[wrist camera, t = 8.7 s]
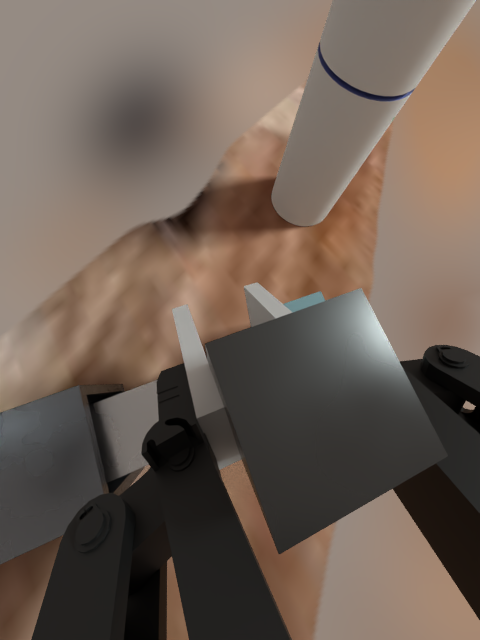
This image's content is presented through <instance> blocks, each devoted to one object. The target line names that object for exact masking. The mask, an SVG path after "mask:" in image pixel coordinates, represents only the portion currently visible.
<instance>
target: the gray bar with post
mask: <svg viewBox="0 0 480 640" xmlns="http://www.w3.org/2000/svg"><path fill="white" fill-rule="evenodd" d="M205 347H206V353H207V359H208V364H209V367H210V370H211V372H212V375H213V378H214V381H215V383H216V386H217V389H218V392H219V394H220V397H221V400H222V403H223V405H224V408H225V411H226V414H227V417H228V420H229V423H230V426H231V429H232V432H233V435H234V438H235V442H236V445H237V448H238V451H239V454H240V456H241V459H242V461H243V464H244V467H245V469H246V472H247V474H248V477H249V479H250V482H251V484H252V487H253V489H254V492H255V495H256V497H257V500H258V502H259V505H260V507H261V510H262V512H263V515H264V518H265V520H266V523H267V525H268V528H269V530H270V533H271V535H272V538H273V541H274V543H275V546H276V548H277V551H278V553H279V554H281V553H282V552H284V551H286V550H288V549H289V548H291V547H293V546H294V545H296V544H298V543H300V542H301V541H303V540H305V539H307V538H308V537H310V536H312V535H313V534H315V533H317V532H319V531H320V530H322V529H324V528H325V527H327V526H329V525H331V524H332V523H334V522H336V521H337V520H339V519H341V518H342V517H344V516H346V515H348V514H349V513H351V512H353V511H355V510H356V509H358V508H360V507H362V506H363V505H365V504H367V503H368V502H370V501H372V500H374V499H375V498H377V497H379V496H380V495H382V494H384V493H386V492H387V491H389V490H391V489H393V488H394V487H396V486H398V485H399V484H401V483H403V482H405V481H406V480H408V479H410V478H411V477H413V476H415V475H417V474H418V473H420V472H422V471H423V470H425V469H427V468H429V467H430V466H432V465H434V464H436V463H437V462H439V461H441V460H442V459H444V458H446V457H448V455H447V453H446V451H445V449H444V447H443V445H442V443H441V441H440V439H439V437H438V435H437V433H436V431H435V429H434V428H433V426H432V424H431V422H430V420H429V418H428V416H427V414H426V412H425V410H424V408H423V406H422V404H421V402H420V401H419V399H418V397H417V395H416V393H415V391H414V389H413V387H412V385H411V383H410V381H409V379H408V377H407V376H406V374H405V372H404V370H403V368H402V366H401V364H400V362H399V360H398V358H397V356H396V354H395V352H394V350H393V349H392V347H391V345H390V343H389V341H388V339H387V337H386V335H385V333H384V331H383V329H382V327H381V326H380V324H379V322H378V320H377V318H376V316H375V314H374V312H373V310H372V308H371V306H370V304H369V302H368V300H367V298H366V297H365V295H364V293H363V291H362V289H361V288H360V289H357V290H354V291H352V292H349V293H346V294H343V295H340V296H338V297H335V298H332V299H329V300H326V301H324V302H321V303H318V304H315V305H312V306H309V307H307V308H304V309H301V310H298V311H295V312H293V313H290V314H287V315H284V316H281V317H279V318H276V319H273V320H270V321H267V322H265V323H262V324H259V325H256V326H253V327H250V328H248V329H245V330H242V331H239V332H236V333H234V334H231V335H228V336H225V337H222V338H220V339H217V340H214V341H211V342H208V343H206V344H205ZM156 382H157V380H155V381H153V382H150V383H147V384H145V385H142V386H139V387H137V388H134V389H131V390H128V391H126V392H123V393H120V394H118V395H115V396H112V397H110V398H107V399H104V400H102V401H99V402H96V403H94V404H91V405H89V408H90V413H91V417H92V421H93V426H94V430H95V434H96V438H97V443H98V447H99V451H100V455H101V460H102V464H103V468H104V473H105V477H106V481H107V483H108V482H110V481H112V480H115V479H117V478H119V477H122V476H124V475H126V474H128V473H131V472H133V471H135V470H137V469H140V468H142V467H144V466H146V465H149V464H148V462H147V461H146V460H145V458H144V457H143V456H142V454H141V452H142V443H143V440H144V438H145V436H146V433H147V432H148V431H149V430H150V428H151V427H152V426H153V425H154V424H155V423H156V422H158V421H159V416H158V400H157V396H158V394H157V383H156Z"/></svg>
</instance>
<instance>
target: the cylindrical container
mask: <svg viewBox="0 0 480 640" xmlns="http://www.w3.org/2000/svg"><path fill="white" fill-rule="evenodd" d="M475 1H476V0H333V2H332V5H331V8H330V11H329V14H328V17H327V20H326V24H325V27H324V30H323V33H322V36H321V40H320V43H319V46H318V49H317V52H316V55H315V58H314V61H313V65H312V68H311V71H310V74H309V77H308V80H307V83H306V86H305V89H304V93H303V96H302V99H301V102H300V105H299V108H298V111H297V114H296V118H295V121H294V124H293V127H292V130H291V133H290V136H289V140H288V143H287V146H286V149H285V152H284V155H283V158H282V162H281V165H280V168H279V171H278V174H277V177H276V180H275V183H274V187H273V190H272V194H271V200H272V204H273V206H274V209H275V210H276V212H277V213H278V214H279V215H280V216H281V217H282V218H283V219H284V220H286V221H287V222H289V223H292V224H294V225H298V226H312V225H316V224H318V223H320V222H321V221H322V220H323V219H324V218H325V217H326V216H327V214H328V213H329V211H330V210H331V208H332V207H333V206H334V204H335V203H336V201H337V200H338V198H339V197H340V196H341V194H342V193H343V191H344V190H345V188H346V187H347V185H348V184H349V183H350V181H351V180H352V178H353V177H354V175H355V174H356V173H357V171H358V170H359V168H360V167H361V165H362V164H363V162H364V161H365V160H366V158H367V157H368V155H369V154H370V152H371V151H372V150H373V148H374V147H375V145H376V144H377V142H378V141H379V139H380V138H381V137H382V135H383V134H384V132H385V131H386V129H387V128H388V127H389V125H390V124H391V122H392V121H393V119H394V118H395V116H396V115H397V114H398V112H399V111H400V109H401V108H402V106H403V105H404V104H405V102H406V101H407V99H408V98H409V96H410V95H411V93H412V92H413V91H414V89H415V88H416V86H417V85H418V83H419V82H420V80H421V79H422V78H423V76H424V75H425V73H426V72H427V70H428V69H429V68H430V66H431V65H432V63H433V62H434V60H435V59H436V57H437V56H438V54H439V53H440V52H441V50H442V49H443V47H444V46H445V44H446V43H447V42H448V40H449V39H450V37H451V36H452V34H453V33H454V31H455V30H456V29H457V27H458V26H459V24H460V23H461V21H462V20H463V19H464V17H465V16H466V14H467V13H468V11H469V10H470V8H471V7H472V5H473V4H474V3H475Z"/></svg>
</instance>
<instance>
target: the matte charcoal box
mask: <svg viewBox="0 0 480 640" xmlns="http://www.w3.org/2000/svg"><path fill="white" fill-rule="evenodd" d="M123 392H124V388H123V384H106V385H78V386H75V387H72V388H69V389H67V390H64V391H61V392H58V393H55V394H52V395H50V396H47V397H44V398H41V399H38V400H35V401H33V402H30V403H27V404H24V405H21V406H18V407H16V408H13V409H10V410H7V411H4V412H1V413H0V564H2V563H4V562H6V561H9V560H11V559H13V558H15V557H17V556H19V555H21V554H24V553H26V552H28V551H30V550H32V549H34V548H36V547H39V546H41V545H43V544H45V543H47V542H49V541H51V540H54V539H56V538H58V537H60V536H62V535H64V533H65V531H66V529H67V526H68V525H69V523H70V522H71V521H72V519H73V518H74V516H75V515H76V514H77V512H78V511H79V510H80V509H81V508H82V507H83V506H85V505H86V504H87V503H88V502H89V501H90V500H92V499H94V498H96V497H97V496H99V495H101V494H107V493H114V494H116V495H118V496H119V495H120V494H122V493H123V492H124V491H125V490H126V489H128V488H129V487H130V485H131V484H132V483H133V481H134V480H135V479H136V478H137V476H138V475H139V474H140V473H141V471H142V470H143V469H144V467H142V468H140V469H137V470H135V471H133V472H131V473H128V474H126V475H124V476H122V477H119V478H117V479H115V480H112V481H110V482H108V483H107V481H106V477H105V473H104V468H103V464H102V460H101V455H100V451H99V447H98V443H97V438H96V434H95V430H94V426H93V421H92V417H91V413H90V408H89V405H91V404H94V403H96V402H99V401H102V400H104V399H107V398H110V397H112V396H115V395H118V394H120V393H123Z"/></svg>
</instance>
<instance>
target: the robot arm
mask: <svg viewBox="0 0 480 640" xmlns="http://www.w3.org/2000/svg"><path fill="white" fill-rule="evenodd" d="M244 290H245V296H246V302H247V307H248V313H249V319H250V324H251V327H253V326H256V325H259V324H262V323H265V322H267V321H270V320H273V319H276V318H279V317H281V316H284V315H287V314H290V313H293V312H291V311H290V310H289V309H288V308H287V307H286V306H284V305H283V304H282V303H281V302H280V301H279V300H277V299H276V298H275V297H274V296H273V295H271V294H270V293H269V292H268V291H267V290H266V289H264V288H263V287H262V286H261V285H260V284H258V283H254V284H250V285H247V286H244ZM172 311H173V316H174V320H175V324H176V329H177V333H178V338H179V342H180V347H181V351H182V355H183V360H184V363H183V364H180V365H177V366H175V367H172V368H169V369H166V370H164V371H161V373H160V375H159V378H158V380H157V382H156V383H157V394H158V396H157V400H158V416H159V421H158V422H156V423H155V424H154V425H153V426H152V427H151V428H150V430H149V431H148V432H147V433H146V436H145V438H144V440H143V443H142V452H141V454H142V456H143V457H144V458H145V460H146V461H147V462H148V464H149V465H150V466H151V467H150V469H149V470H148V471H147V472H146V473H145V474H144V475H143V476H142V477H141V478H140V479H139V480H138V481H136V482H135V483H134V484H133V485H131V486H130V487H129V488H128V489H126V490H125V491H124V492H123V493H122V494H120V495H119V496H118V495H116V494H114V493H107V494H101V495H99V496H97V497H96V498H94V499H92V500H90V501H89V502H88V503H87V504H86V505H85V506H83V507H82V508H81V509H80V510H79V511H78V512H77V514H76V515H75V516H74V518H73V519H72V521H71V522H70V523H69V525H68V526H67V529H66V531H65V533H64V536H63V538H62V540H61V543H60V546H59V549H58V553H57V556H56V559H55V563H54V566H53V569H52V573H51V576H50V579H49V583H48V586H47V589H46V593H45V596H44V599H43V603H42V606H41V609H40V613H39V616H38V619H37V623H36V626H35V629H34V633H33V636H32V639H31V640H166V638H167V560H168V559H169V558H170V557H171V556H172V558H173V563H174V568H175V573H176V578H177V582H178V587H179V592H180V597H181V602H182V607H183V612H184V617H185V621H186V626H187V631H188V636H189V640H292V639H291V637H290V634H289V632H288V630H287V627H286V625H285V623H284V621H283V618H282V616H281V614H280V611H279V609H278V607H277V605H276V602H275V600H274V598H273V595H272V593H271V591H270V588H269V586H268V584H267V582H266V579H265V577H264V575H263V572H262V570H261V568H260V566H259V563H258V561H257V559H256V556H255V554H254V552H253V550H252V547H251V545H250V543H249V540H248V538H247V536H246V534H245V531H244V529H243V527H242V524H241V522H240V520H239V517H238V515H237V513H236V511H235V508H234V506H233V504H232V501H231V499H230V497H229V495H228V492H227V490H226V488H225V485H224V483H223V481H222V478H221V474H220V470H219V469H222V468H224V467H226V466H228V465H231V464H233V463H235V462H237V461H239V460H241V456H240V454H239V451H238V448H237V445H236V442H235V438H234V435H233V432H232V429H231V426H230V423H229V420H228V417H227V414H226V411H225V408H224V405H223V403H222V400H221V397H220V394H219V392H218V389H217V386H216V383H215V381H214V378H213V375H212V372H211V370H210V367H209V364H208V360H207V358H206V355H205V352H204V349H203V347H202V344H201V341H200V338H199V336H198V333H197V330H196V327H195V325H194V322H193V319H192V316H191V314H190V311H189V308H188V305H183V306H180V307H177V308H174V309H172ZM400 364H401V366H402V368H403V370H404V372H405V374H406V376H407V377H408V379H409V381H410V383H411V385H412V387H413V389H414V391H415V393H416V395H417V397H418V399H419V401H420V402H421V404H422V406H423V408H424V410H425V412H426V414H427V416H428V418H429V420H430V422H431V424H432V426H433V428H434V429H435V431H436V433H437V435H438V437H439V439H440V441H441V443H442V445H443V447H444V449H445V451H446V453H447V455H448V457H446V458H444V459H442V460H441V461H439V462H437V463H436V464H434V465H432V466H430V467H429V468H427V469H425V470H423V471H422V472H420V473H418V474H417V475H415V476H413V477H411V478H410V479H408V480H406V481H405V482H403V483H401V484H399V485H398V486H396V487H394V488H393V490H394V491H395V493H396V494H397V496H398V497H399V499H400V500H401V502H402V503H403V505H404V506H405V508H406V509H407V511H408V512H409V514H410V515H411V517H412V519H413V520H414V522H415V523H416V525H417V526H418V528H419V529H420V530H421V532H422V534H423V535H424V537H425V538H426V539H427V541H428V543H429V544H430V546H431V547H432V549H433V550H434V552H435V553H436V555H437V556H438V558H439V559H440V561H441V562H442V564H443V565H444V567H445V568H446V570H447V571H448V573H449V575H450V576H451V577H452V579H453V581H454V582H455V583H456V585H457V587H458V588H459V590H460V591H461V593H462V594H463V596H464V597H465V599H466V600H467V602H468V603H469V605H470V606H471V608H472V609H473V611H474V612H475V614H476V615H477V617H478V618H479V620H480V357H479V356H478V355H475V354H473V353H471V352H469V351H467V350H464V349H461V348H458V347H454V346H448V345H435V346H432V347H429V348H428V349H427V350H426V351H425V353H424V356H423V359H418V360H410V361H401V362H400ZM465 401H468V402H470V403H471V404H473V405H475V406H476V407H475V409H474V410H468V409H465V408H463V405H464V403H465Z"/></svg>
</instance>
